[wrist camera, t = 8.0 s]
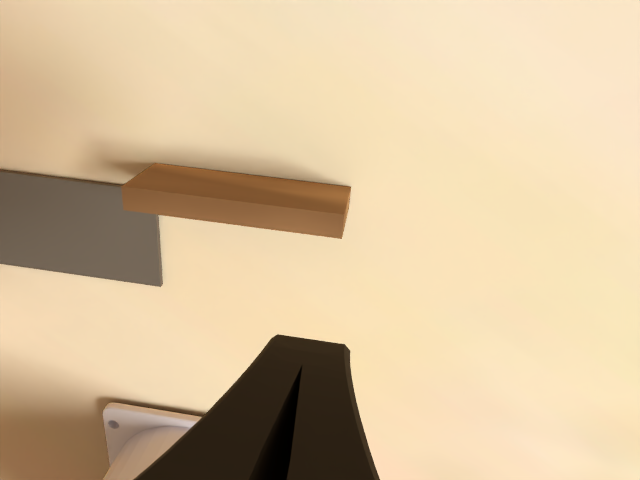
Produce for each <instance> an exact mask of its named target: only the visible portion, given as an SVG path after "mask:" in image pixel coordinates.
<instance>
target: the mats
mask: <svg viewBox="0 0 640 480" xmlns="http://www.w3.org/2000/svg"><path fill="white" fill-rule="evenodd" d="M121 186H122V185H116V184H108V183H100V182H93V181H85V180H77V179H69V178H61V177H53V176H45V175H37V174H29V173H21V172H14V171H6V170H0V264H6V265H13V266H20V267H27V268H34V269H41V270H48V271H55V272H62V273H69V274H76V275H83V276H90V277H97V278H104V279H110V280H117V281H124V282H131V283H138V284H145V285H152V286H159V287H161V286H162V284H163V280H162V265H161V249H160V233H159V217H158V215H157V214H149V213H142V212H134V211H126V210H123V201H122V190H121Z"/></svg>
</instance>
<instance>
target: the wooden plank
mask: <svg viewBox="0 0 640 480" xmlns="http://www.w3.org/2000/svg"><path fill="white" fill-rule="evenodd" d="M121 190H122V201H123V210H126V211H134V212H142V213H149V214H157V215H164V216H172V217H180V218H187V219H195V220H203V221H210V222H218V223H226V224H233V225H241V226H248V227H256V228H264V229H271V230H279V231H287V232H294V233H302V234H310V235H317V236H325V237H332V238H340V239H342V236H343V231H344V227H345V222H346V218H347V213H348V209H349V200H350V192H351V187H346V186H338V185H330V184H322V183H314V182H305V181H297V180H289V179H281V178H273V177H264V176H256V175H248V174H240V173H232V172H223V171H215V170H207V169H199V168H191V167H182V166H174V165H166V164H158V163H155V164H153V165H152V166H150V167H149V168H147V169H146V170H144V171H143V172H141V173H140V174H139V175H137V176H136V177H134V178H133V179H131V180H130V181H128V182H127V183H125V184H124V185H122V186H121Z"/></svg>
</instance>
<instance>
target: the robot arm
mask: <svg viewBox="0 0 640 480" xmlns="http://www.w3.org/2000/svg"><path fill="white" fill-rule="evenodd" d="M102 415H103V422H104V429H105V436H106V443H107V450H108V457H109V464H110V468H109V470H108V472H107V473H106V475H105V477H104V478H103V480H380V479H379V476H378V473H377V470H376V468H375V465H374V462H373V459H372V456H371V453H370V449H369V446H368V443H367V439H366V436H365V432H364V429H363V425H362V422H361V418H360V415H359V411H358V407H357V403H356V398H355V393H354V388H353V383H352V376H351V368H350V350H349V349H348V348H347V347H346V345H345V344H338V343H331V342H325V341H318V340H311V339H304V338H298V337H291V336H284V335H276V336H275V337H273V338H272V339H271V340H270V341H269V342H268V344H267V345H266V346H265V348H264V349H263V350H262V351H261V353H260V354H259V355H258V357H257V358H256V359H255V360H254V361H253V363H252V364H251V365H250V366H249V367H248V368H247V370H246V371H245V372H244V373H243V374H242V375H241V377H240V378H239V379H238V380H237V381H236V382H235V383H234V384H233V385H232V386H231V388H230V389H229V390H228V391H227V392H226V393H225V394H224V395H223V396H222V397H221V398H220V399H219V400H218V401H217V402H216V403H215V405H214V406H213V407H212V408H211V409H210V410H209V411H208V412H207V413H206V414H205V415H204V416H203V417H200V416H194V415H188V414H182V413H176V412H170V411H164V410H158V409H151V408H145V407H139V406H133V405H127V404H121V403H109V404H107V406H106V407H105V408H104V410H103V413H102Z"/></svg>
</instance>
